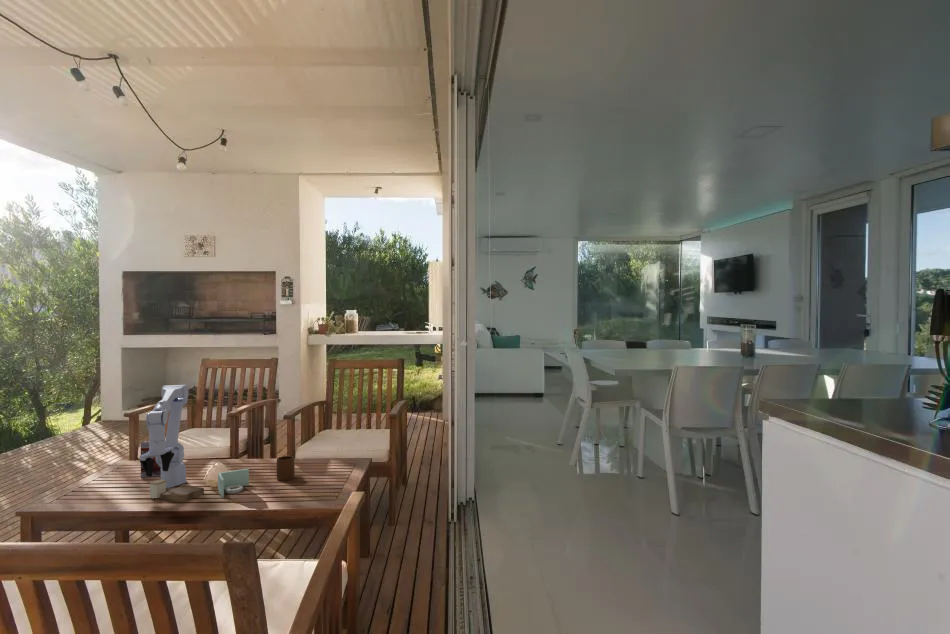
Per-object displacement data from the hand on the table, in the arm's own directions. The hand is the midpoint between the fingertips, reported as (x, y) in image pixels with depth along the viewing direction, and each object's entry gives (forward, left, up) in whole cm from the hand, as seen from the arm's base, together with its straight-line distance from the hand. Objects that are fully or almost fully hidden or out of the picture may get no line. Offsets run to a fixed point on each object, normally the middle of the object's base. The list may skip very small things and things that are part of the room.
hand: (157, 473), depth 214 cm
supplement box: (-21, -30, -10) cm, 38 cm away
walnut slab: (-3, +10, -10) cm, 14 cm away
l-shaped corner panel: (-16, +25, -10) cm, 31 cm away
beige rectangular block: (0, 0, -9) cm, 9 cm away
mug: (-38, +33, -10) cm, 51 cm away
